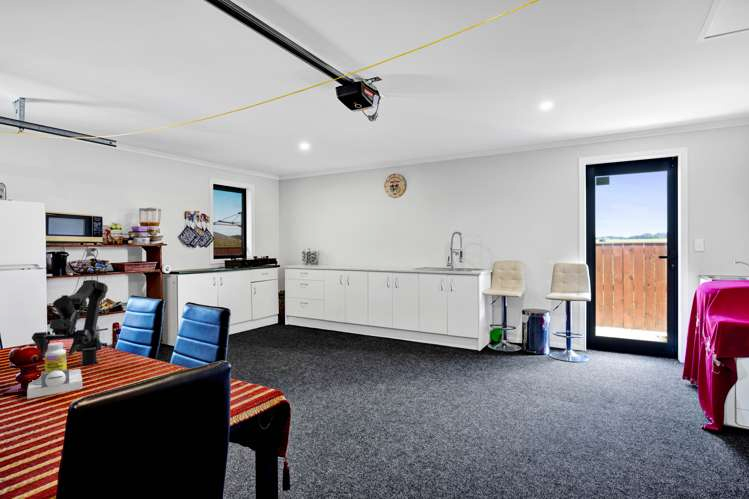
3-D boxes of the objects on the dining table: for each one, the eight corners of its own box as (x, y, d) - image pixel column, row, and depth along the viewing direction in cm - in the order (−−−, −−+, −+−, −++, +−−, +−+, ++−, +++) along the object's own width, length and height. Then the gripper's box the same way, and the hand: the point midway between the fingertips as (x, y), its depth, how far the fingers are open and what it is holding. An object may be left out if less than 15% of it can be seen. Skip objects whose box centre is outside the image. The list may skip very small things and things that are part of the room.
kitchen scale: (30, 384, 160) (30, 363, 160) (80, 375, 170) (80, 355, 170) (27, 399, 143) (26, 375, 143) (82, 389, 153) (82, 367, 153)
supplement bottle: (43, 380, 152) (42, 346, 152) (46, 375, 158) (46, 343, 158) (65, 377, 156) (64, 344, 156) (68, 372, 161) (67, 341, 161)
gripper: (33, 312, 159) (18, 346, 149) (88, 309, 164) (76, 342, 154) (44, 328, 167) (30, 362, 156) (95, 325, 172) (85, 357, 162)
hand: (55, 356), depth 157 cm, fingers open, 9 cm apart
